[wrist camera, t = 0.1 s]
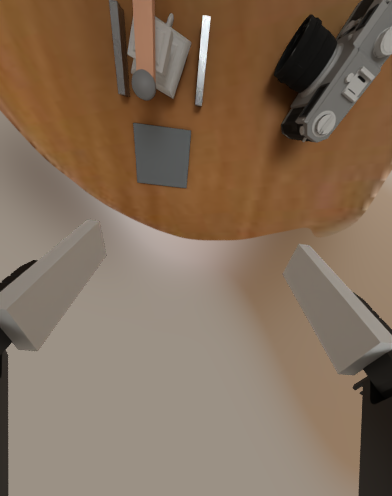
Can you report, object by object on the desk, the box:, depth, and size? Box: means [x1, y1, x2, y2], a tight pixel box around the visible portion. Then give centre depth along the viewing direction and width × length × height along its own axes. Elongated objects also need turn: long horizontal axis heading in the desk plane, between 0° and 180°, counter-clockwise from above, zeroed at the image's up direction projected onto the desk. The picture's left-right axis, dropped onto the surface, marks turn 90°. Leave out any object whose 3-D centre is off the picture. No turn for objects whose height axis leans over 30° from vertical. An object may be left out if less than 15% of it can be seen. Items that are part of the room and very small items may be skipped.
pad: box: [133, 123, 191, 188], centre depth 34 cm, size 10×10×1 cm
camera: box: [274, 0, 392, 142], centre depth 23 cm, size 18×10×10 cm, turn 153°
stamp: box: [127, 13, 191, 99], centre depth 24 cm, size 9×7×8 cm
